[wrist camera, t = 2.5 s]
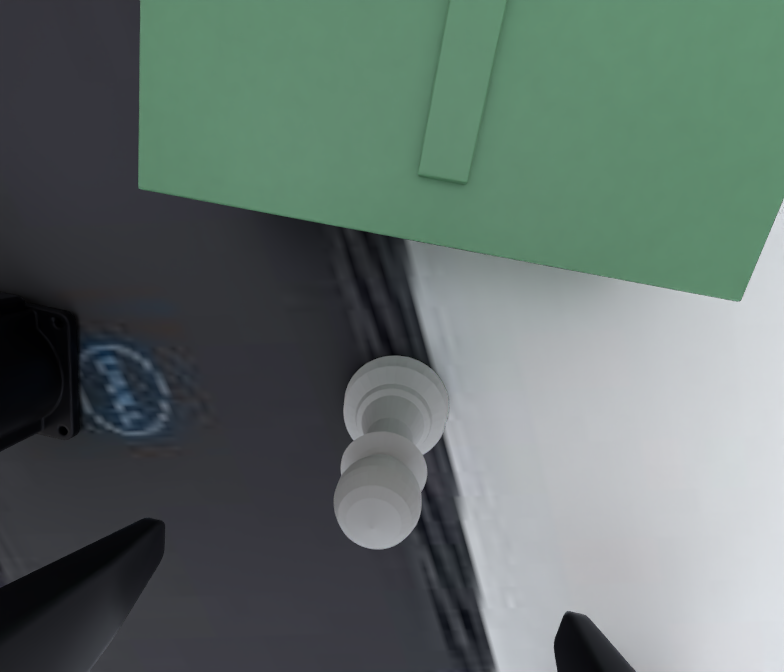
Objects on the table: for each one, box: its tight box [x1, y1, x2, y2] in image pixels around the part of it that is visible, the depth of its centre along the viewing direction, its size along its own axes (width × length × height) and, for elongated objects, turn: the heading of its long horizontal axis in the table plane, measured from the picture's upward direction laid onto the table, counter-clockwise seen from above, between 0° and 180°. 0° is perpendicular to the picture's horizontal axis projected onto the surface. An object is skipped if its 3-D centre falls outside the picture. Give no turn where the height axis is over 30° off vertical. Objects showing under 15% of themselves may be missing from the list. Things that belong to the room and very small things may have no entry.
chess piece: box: [334, 356, 449, 549], centre depth 14 cm, size 5×5×8 cm
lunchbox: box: [138, 0, 784, 301], centre depth 12 cm, size 9×16×7 cm, turn 80°
